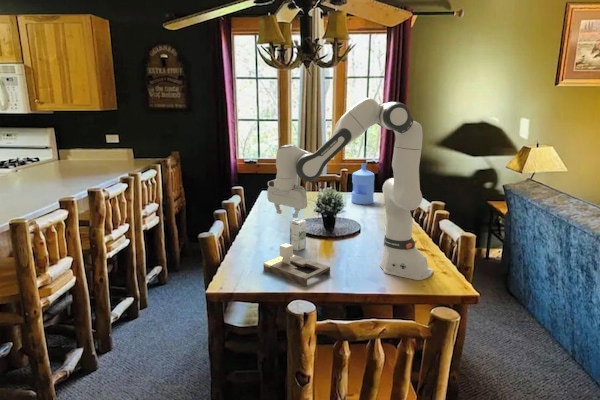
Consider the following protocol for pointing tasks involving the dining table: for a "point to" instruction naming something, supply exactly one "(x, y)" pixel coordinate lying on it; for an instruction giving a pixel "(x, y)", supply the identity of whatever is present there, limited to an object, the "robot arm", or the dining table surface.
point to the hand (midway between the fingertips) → (287, 215)
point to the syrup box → (298, 234)
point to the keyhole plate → (295, 269)
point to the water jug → (363, 186)
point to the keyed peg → (286, 253)
